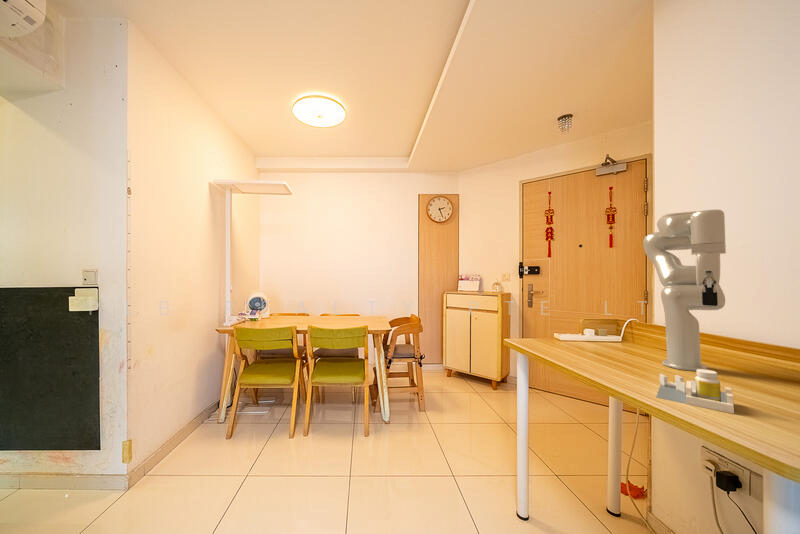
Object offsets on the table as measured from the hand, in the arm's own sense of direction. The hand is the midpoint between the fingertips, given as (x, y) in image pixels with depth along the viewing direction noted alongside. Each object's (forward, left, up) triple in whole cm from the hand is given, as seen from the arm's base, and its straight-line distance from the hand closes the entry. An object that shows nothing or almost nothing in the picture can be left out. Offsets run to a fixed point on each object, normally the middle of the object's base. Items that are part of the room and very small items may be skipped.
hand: (709, 303), depth 93 cm
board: (+14, -5, -26) cm, 30 cm away
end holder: (+18, -1, -26) cm, 32 cm away
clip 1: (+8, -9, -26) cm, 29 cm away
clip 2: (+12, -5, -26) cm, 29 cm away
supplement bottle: (+18, -2, -26) cm, 32 cm away
